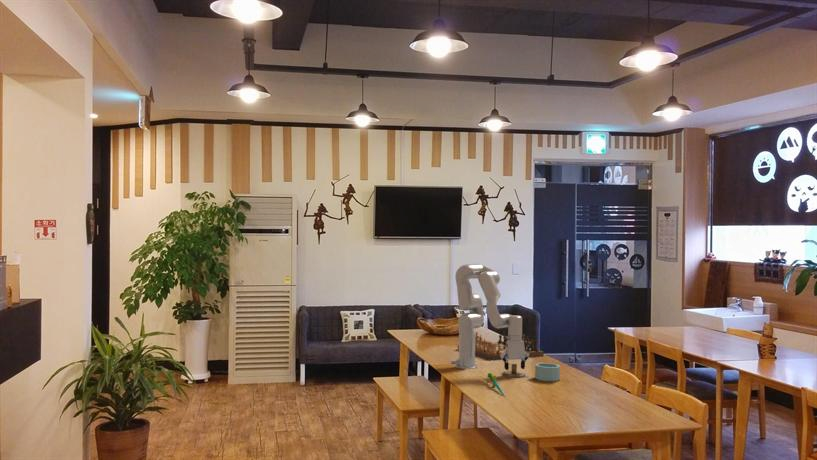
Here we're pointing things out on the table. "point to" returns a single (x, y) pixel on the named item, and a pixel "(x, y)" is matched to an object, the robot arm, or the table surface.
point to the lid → (514, 372)
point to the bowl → (547, 372)
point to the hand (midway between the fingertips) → (514, 369)
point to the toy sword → (494, 382)
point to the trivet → (510, 377)
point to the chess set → (502, 347)
